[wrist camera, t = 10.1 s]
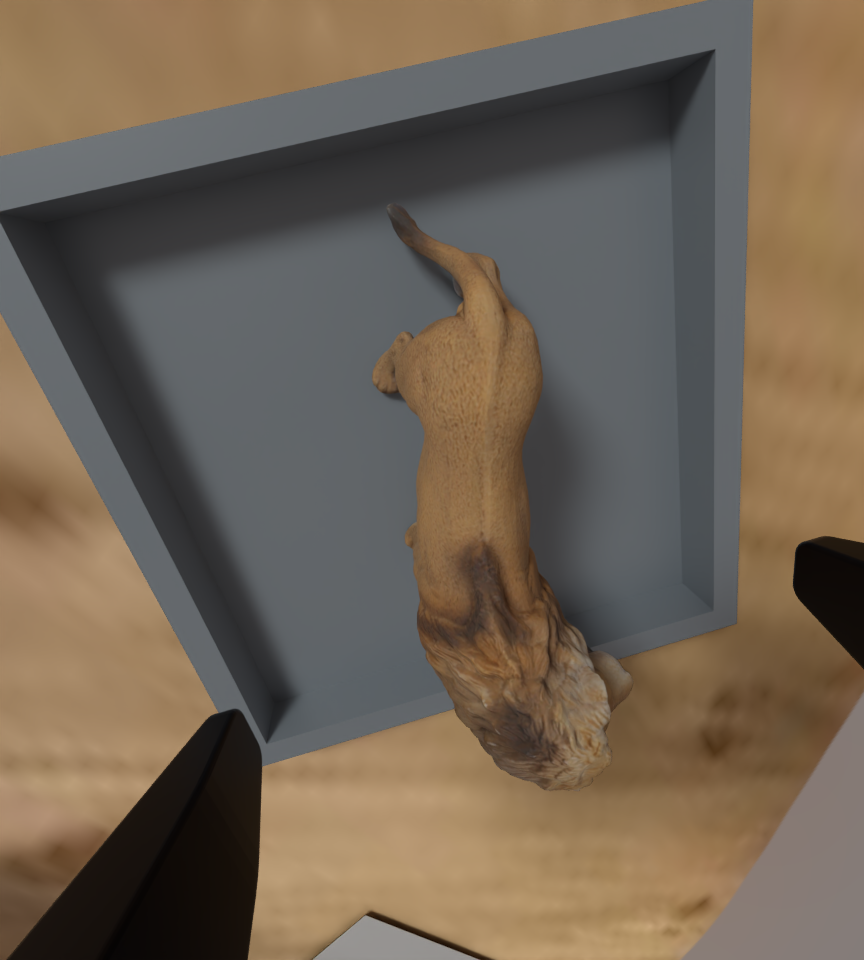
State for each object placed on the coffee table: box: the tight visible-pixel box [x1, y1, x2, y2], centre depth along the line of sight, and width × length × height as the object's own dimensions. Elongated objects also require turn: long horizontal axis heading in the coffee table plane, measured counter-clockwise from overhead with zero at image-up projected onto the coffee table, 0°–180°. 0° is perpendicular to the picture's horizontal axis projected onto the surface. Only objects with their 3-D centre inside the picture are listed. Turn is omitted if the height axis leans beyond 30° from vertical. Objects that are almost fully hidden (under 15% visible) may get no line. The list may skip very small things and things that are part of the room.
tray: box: [0, 0, 753, 766], centre depth 17 cm, size 20×20×2 cm
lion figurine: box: [372, 203, 633, 791], centre depth 13 cm, size 15×5×9 cm, turn 15°
